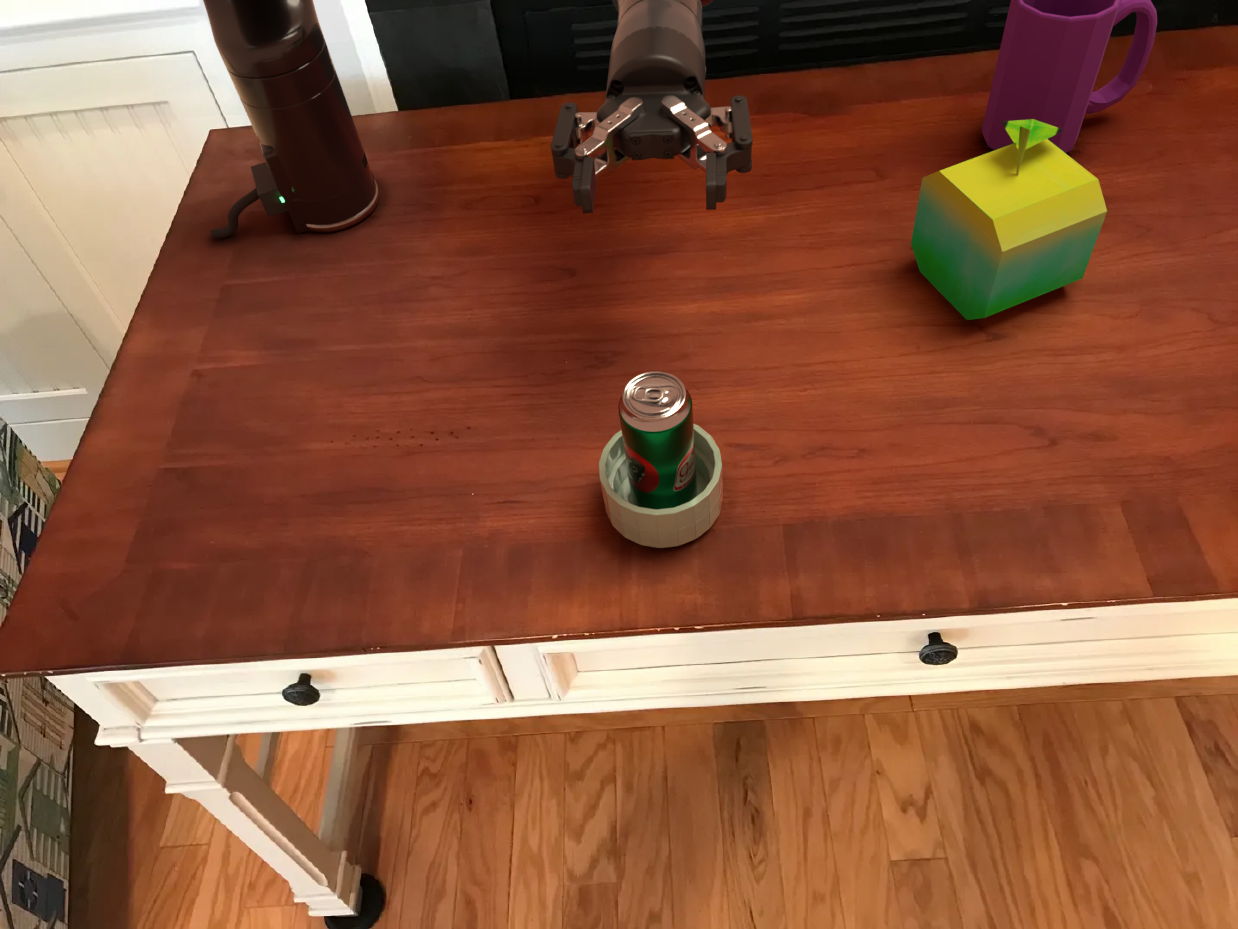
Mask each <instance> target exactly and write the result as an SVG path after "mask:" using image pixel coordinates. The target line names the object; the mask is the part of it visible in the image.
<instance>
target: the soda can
mask: <svg viewBox="0 0 1238 929" xmlns="http://www.w3.org/2000/svg"><path fill="white" fill-rule="evenodd" d="M618 417H619V422H620V430H621V431H622V437H623V444H624V451H625V457H626V464H627V471H628V478H629V484H630V491H631V498H632V501H633V504H634V505H636V506H638V507H643V508H649V509H656V510H657V509H666V508H674V507H677V506H680V505H682V504H685V503H687V502H690V501H691V500H693V499H694V498H695V497H697V479H696V461H695V443H694V426H693V424H694V411H693V398H692V396H691V394H690V392H689V390H688V389H687V388H686V387H685V385H684V383H683V381H682V380H681V379H679V378H678V377H677V376H676V375H674V374H672V373H670V372H666V371H661V370H653V371H652V370H651V371H647V372H643V373H640V374H638V375H636V376H634V377H632V378H631V379H630V380H629V381H628V382H627V384H626V385H625V386H624V388H623V391H622V394H621V396H620V398H619V401H618Z"/></svg>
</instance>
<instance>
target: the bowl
mask: <svg viewBox="0 0 1238 929" xmlns="http://www.w3.org/2000/svg"><path fill="white" fill-rule="evenodd" d="M693 426H694V443H695V461H696V479H697V497H695V498H694V499H693V500H691V501H690V502H687V503H685V504H682V505H680V506H677V507H674V508H666V509H657V510H656V509H649V508H643V507H638V506H636V505H634V504H633V501H632V498H631V491H630V484H629V478H628V471H627V464H626V457H625V451H624V444H623V437H622V431H621V429H620V430H618V431H617V432H616V433H615V434H614V435H612V437H610V439H609V441H608V442H607V443H606V445H605V446H604V447H603V450H602V452H601V456H600V458H599V460H598V473H599V474H598V475H599V482H600V486H601V493H602V498H603V503H604V508H605V512H606V515H607V517H608V519H609V521H610V523H611V525H612V527H613V528H614V529H615V530H616V531H617V532H618V533H620V535H622V537H624V538H625V539H626V540H629V541H631V542H634V543H635V544H638V545H640V546H642V547H643V546H645V547H650V548H656V549H665V548H673V547H675V548H676V547H679V546H682V545H684V544H687V543H689V542H692V541H694V540H696V539H699V538H700V537H701V536H703V534H705V533H706V532H708V531H709V530H710V528H712V527H713V525H714V523H715V521H717V519H718V517H719V516H720V514H721V511H722V510H721V509H722V506H723V501H724V491H723V490H724V488H723V487H724V486H723V461H722V455H721V450H720V448H719V446H718V444H717V442H716V441H715V440H714V438H713V436H712V435H711V434H710V433H708V432H707V431H706V430H704V428H702V427H701V426H699V425H698V424H696V423H693Z"/></svg>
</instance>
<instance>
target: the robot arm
mask: <svg viewBox="0 0 1238 929" xmlns="http://www.w3.org/2000/svg"><path fill="white" fill-rule="evenodd" d="M202 2H203V5H204V8H205V11H206V14H207V18H208V21H209V25H210V29H211V33H212V37H213V40H214V44H215V46H216V48H217V51H218V53H219V55H220V58H221V60H222V62H223V64H224V67H225V68H226V71H227V73H228V76H229V77H230V80H231V82H232V84H233V86H234V89H235V90H236V93H237V95H238V97H239V100H240V102H241V104H242V106H243V109H244V111H245V113H246V115H247V117H248V120H249V122H250V125H251V127H252V129H253V131H254V134H255V135H256V138H257V140H258V144H259V146H260V150H261V153H262V157H263V159H264V162H261V163H258V164H255V165H251V166H250V170H251V174H252V177H253V182H254V185H255V188H253V190H251V191H250V192H248V193H247V194H245V195H243V196H242V197H241V198H240V199H238V200H237V201H236V202H235V203H234V204H233V205H232V206H231V207H230V209H229V210H228V213H227V225H225V226H224V227H219V228H213V229H209V232H210V235H211V237H212V239H213V240H217V239H222V238H227V237H230V236H232V235H234V234H235V233H236V232H237V230H238V228H239V217H240V216H241V214H242V212H243V211H245V209H247V208H248V207H249V206H251V205H252V204H253V203H256V201H258V200H260V202H261V204H262V207H263V208H264V211H265V212H266V216H267V217H268V218H271V217H274V216H277V215H280V214H283V213H286V212H288V214H289V217H290V219H291V221H292V223H293V226H294V228H295V230H296V232H297V234H302V233H306V232H313V233H332V232H336V231H341V230H344V229H347V228H350V227H353V226H355V225H356V224H359V223H360V222H362V221H363V220H364V219H367V217H368V216H370V215H371V213H372V212H374V210H375V209H376V207H377V206H378V204H379V201H380V197H381V193H380V190H379V186H378V184H377V183H378V182H377V181H376V180H375V176H374V174H373V171H372V169H371V165H370V163H369V162H370V160H369V157H368V156H367V154H366V151H365V148H364V147H363V146H364V145H363V144H362V141H361V138H360V135H359V133H358V129H357V127H356V123H355V121H354V118H353V116H352V113H351V110H350V108H349V104H348V101H347V98H346V96H345V92H344V90H343V87H342V85H341V84H342V83H341V81H340V79H339V76H338V73H337V70H336V68H335V63H334V62H333V59H332V56H331V53H330V50H329V47H328V45H327V42H326V39H325V37H324V33H323V30H322V27H321V24H320V21H319V17H318V14H317V11H316V7H315V4H314V0H202ZM611 2H612V5H613V6H614V8H615V10H616V12H617V21H616V22H617V23H616V31H615V34H614V37H613V39H612V43H611V49H610V57H609V63H608V64H609V65H608V72H607V81H606V91H605V98H604V102H603V104H602V105H601V106H600V107H599V108H598V109H597V111H591V112H590V111H589V112H588V111H583V112H581V111H580V112H579V110H578V109H579V108H578V104H577V103H575V102H573V101H569V102H565V103H562V105H561V106H560V109H559V113H558V117H557V120H556V125H555V128H554V132H553V136H552V140H551V143H550V150H551V156H552V157H551V158H552V163H553V170H554V174H555V175H554V176H555V177H556V178H557V179H559V180H564V179H568V178H570V177H572V179H571V192H572V196H573V203H574V205H575V207H581V210H582V213H583V214H594V211H595V203H596V195H597V187H598V186H597V185H598V180H597V179H599V178H600V177H601V176H602V175H603V174H605V173H606V172H608V173H614V172H615V171H617V170H619V168H620V167H622V166H623V165H624V164H625V163H627V162H629V160H631V161H645V160H649V159H658V160H674V159H675V157H677V158H678V159H679V160H681V161H682V162H683V163H685V164H686V165H687V166H688V167H690V168H691V169H693V170H697V169H699V170H701V171H702V172H704V174H705V209H706V211H712V210H713V211H716V210H717V203H724V202H725V201H726V199H727V175H728V174H729V173H730V172H732V171H736V172H737V173H739V174H747V173H749V172H751V171H752V169H753V160H752V156H753V155H752V151H753V150H752V149H753V145H754V144H753V141H754V137H753V131H752V124H751V117H750V110H749V102H748V98H747V97H746V96H744V95H734V96H732V97H731V98H730V100H729V102H730V105H729V106H727V105H725V106H716V107H715V106H714V107H713V106H712V107H711V105H710V104H709V102H707V100H706V75H707V66H706V47H705V42H704V38H703V17H704V16H703V15H704V14H703V7H706V6H708V5H710V4H712V3H713V2H714V0H611ZM712 126H714V127H718V128H719V130H720V132H722V133H723V134H724V138H725V139H726V140H730V139H731V142H726V141H725V140H723V139H722V138H721V137H719V136H718V135H716V133H714V132H713V131H712V130H711V128H712ZM591 132H592V134H591V136H590V137H588V136H589V134H590V133H591ZM587 137H588V138H587ZM586 138H587V139H586ZM585 139H586V140H585ZM594 156H595V157H594Z"/></svg>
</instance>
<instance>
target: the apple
mask: <svg viewBox="0 0 1238 929" xmlns="http://www.w3.org/2000/svg"><path fill="white" fill-rule="evenodd" d="M1001 123H1002V124H1003V126H1004V128H1005V129H1006V131H1007V132H1008V134H1009V136H1010V137H1011V139H1012V140H1013V142H1014V143H1013V144H1011V145H1008V146H1005V147H1003V148H1000V149H997V150H992V151H988V152H986V153H983V154H981V155H979V156H975V157H972V158H969V159H966V160H964V161H962V162H959V163H957V164H954V165H951V166H948V167H946V168H943V169H940V170H937V171H935V172H933V173H931V174H928V175H926V176H923V177H922V179H921V184H920V189H919V196H918V201H917V206H916V212H915V218H914V222H913V229H912V234H911V241H910V246H911V248H912V249H911V250H912V252H913V256H914V258H915V261H916V264H917V267H918V272H919V273H921V275H922V276H923V277H924V278H925V279H926V280H927V281H928V282H929V283H930V284H931V285H932V286H933V287H934V288H935V289H936V290H937V292H939V294H941V296H943V297H944V298H945V299H946V300H947V302H949V303H950V305H951V306H952V307H953V308H954V309H955V310H956V311H957V312H958V313H959V314H960V315H961V316H962V317H963V318H964V319H965V320H966V321H972V320H979V319H986V318H988V317H990V316H993V315H995V314H998V313H1001V312H1003V311H1005V310H1007V309H1010V308H1012V307H1016V306H1018V305H1020V304H1024V303H1025V302H1028V301H1030V300H1033V299H1036V298H1037V297H1040V296H1043V295H1045V294H1047V293H1050V292H1053V291H1055V290H1058V289H1060V288H1063V287H1065V286H1068V285H1071V284H1072V283H1075V282H1077V281H1080V280H1082V279H1084V275H1085V273H1086V270H1087V268H1088V264H1089V261H1090V259H1091V256H1092V254H1093V251H1094V249H1095V246H1096V244H1097V241H1098V237H1099V235H1100V232H1101V229H1102V226H1103V225H1104V221H1105V219H1106V216H1107V213H1108V209H1107V205H1106V202H1105V198H1104V195H1103V190H1102V187H1101V184H1100V181H1099V178H1097V177H1096V176H1095V175H1093V173H1091V172H1090V171H1088V170H1087V169H1086V168H1085V167H1083V166H1082V165H1081V164H1079V163H1078V162H1077V161H1076V160H1075V159H1074V158H1072V157H1070V156H1069V155H1068V154H1067V153H1064V152H1063V151H1062V150H1061V149H1059V148H1058V147H1057V146H1055V145H1054V144H1053V143H1052V142H1050V141H1049V140H1048V138H1050V137H1052V136H1054V135H1056V134H1058V133H1060V132H1062V131H1064V129H1061V128H1058V127H1055V126H1052V125H1049V124H1046V123H1043V122H1040V121H1037V120H1034V119H1029V120H1015V121H1001Z"/></svg>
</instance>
